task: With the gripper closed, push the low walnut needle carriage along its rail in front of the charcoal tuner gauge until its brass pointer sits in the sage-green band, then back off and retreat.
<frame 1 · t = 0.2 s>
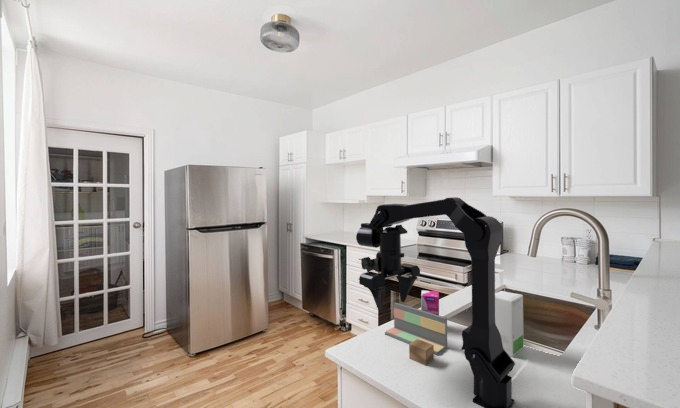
hand: (391, 305, 85), 14 cm above the worktop, fingers open, 9 cm apart
needle carriage: (423, 350, 84), point 2 cm above the worktop, slide at 0.0 cm
tuner gauge: (414, 341, 94), on the worktop
supplement box: (430, 327, 104), on the worktop
skincare box: (506, 349, 88), on the worktop
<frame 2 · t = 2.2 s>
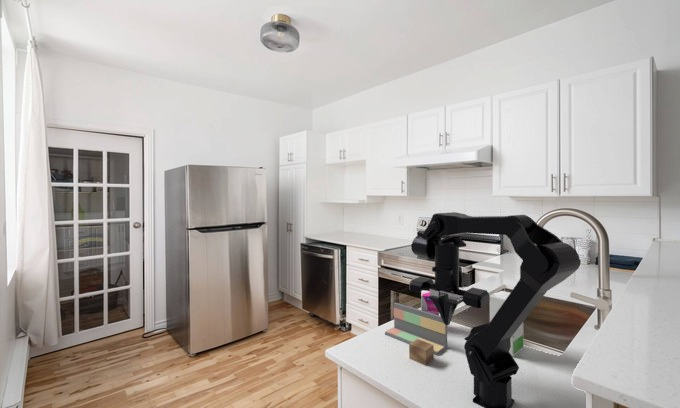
hand: (447, 324, 78), 12 cm above the worktop, fingers closed
nothing on the worktop moved.
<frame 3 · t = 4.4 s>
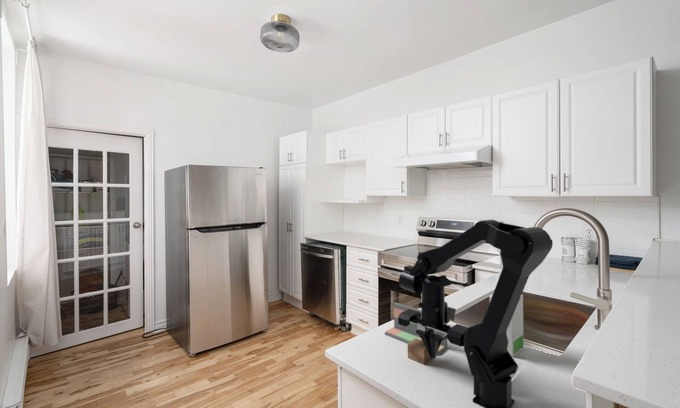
hand: (433, 357, 81), 2 cm above the worktop, fingers closed
needle carriage: (421, 349, 84), point 2 cm above the worktop, slide at 0.5 cm, touching gripper
everything else where it was.
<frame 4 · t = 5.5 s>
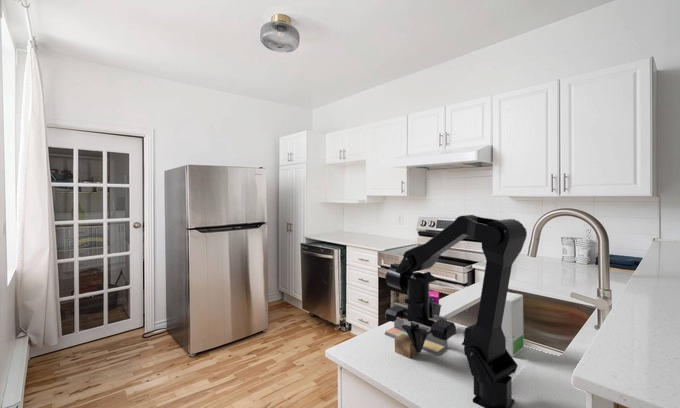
hand: (418, 351, 84), 2 cm above the worktop, fingers closed
needle carriage: (408, 344, 87), point 2 cm above the worktop, slide at 4.8 cm, touching gripper
everything else where it was.
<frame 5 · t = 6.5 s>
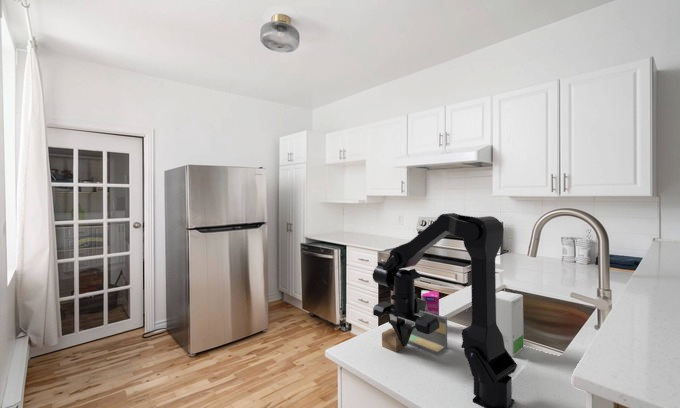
hand: (404, 346, 87), 2 cm above the worktop, fingers closed
needle carriage: (394, 339, 91), point 2 cm above the worktop, slide at 9.4 cm, touching gripper
everything else where it was.
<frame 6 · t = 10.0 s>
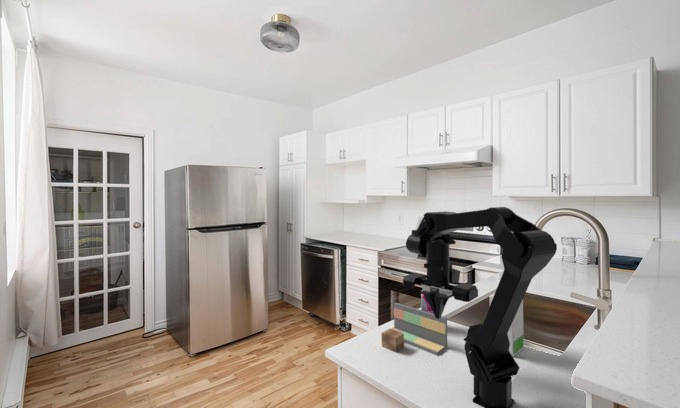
hand: (438, 318, 81), 12 cm above the worktop, fingers closed
needle carriage: (394, 338, 91), point 2 cm above the worktop, slide at 9.5 cm
everything else where it was.
at the end: needle carriage slide at 9.5 cm; the gripper is holding nothing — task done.
